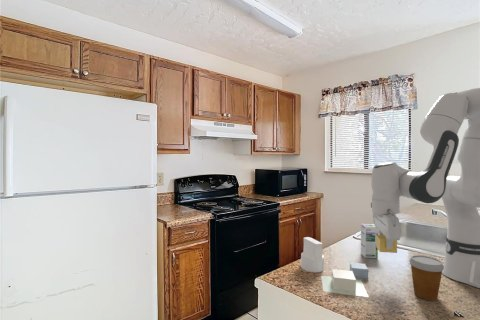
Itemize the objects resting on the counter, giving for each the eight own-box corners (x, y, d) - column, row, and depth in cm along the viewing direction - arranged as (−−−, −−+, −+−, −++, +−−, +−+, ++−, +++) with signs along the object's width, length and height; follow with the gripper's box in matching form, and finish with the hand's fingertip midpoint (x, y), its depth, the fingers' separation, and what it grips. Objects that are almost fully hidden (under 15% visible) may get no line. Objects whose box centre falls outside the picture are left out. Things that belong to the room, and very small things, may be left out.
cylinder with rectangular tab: (296, 267, 110) (297, 238, 110) (314, 264, 113) (315, 236, 113) (309, 276, 102) (309, 245, 102) (328, 273, 105) (329, 242, 105)
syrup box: (364, 258, 121) (365, 226, 121) (360, 253, 127) (360, 223, 127) (377, 258, 120) (378, 226, 120) (372, 254, 126) (373, 223, 126)
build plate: (361, 283, 97) (361, 280, 97) (368, 300, 85) (369, 297, 85) (321, 278, 100) (321, 275, 100) (323, 294, 88) (323, 291, 88)
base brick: (352, 282, 95) (352, 271, 95) (355, 291, 88) (356, 279, 88) (331, 279, 97) (331, 268, 97) (333, 289, 90) (333, 277, 90)
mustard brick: (392, 247, 99) (392, 235, 99) (397, 252, 93) (396, 240, 93) (375, 246, 100) (375, 234, 100) (379, 251, 95) (379, 239, 95)
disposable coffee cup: (442, 307, 82) (443, 268, 81) (406, 296, 88) (407, 260, 88) (444, 295, 89) (445, 259, 89) (410, 285, 95) (411, 252, 95)
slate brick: (364, 275, 104) (364, 263, 103) (368, 281, 98) (368, 269, 98) (349, 273, 105) (349, 262, 105) (352, 279, 100) (352, 267, 99)
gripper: (405, 213, 86) (406, 256, 86) (386, 202, 106) (387, 237, 106) (384, 212, 87) (384, 254, 87) (369, 202, 107) (370, 236, 107)
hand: (386, 245), depth 97 cm, fingers closed on mustard brick, 5 cm apart
